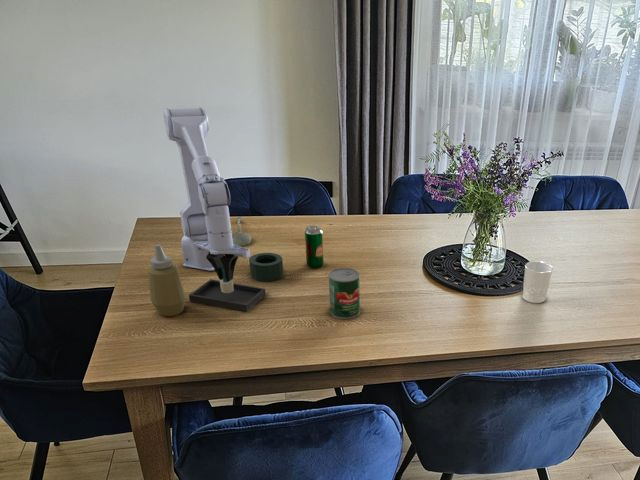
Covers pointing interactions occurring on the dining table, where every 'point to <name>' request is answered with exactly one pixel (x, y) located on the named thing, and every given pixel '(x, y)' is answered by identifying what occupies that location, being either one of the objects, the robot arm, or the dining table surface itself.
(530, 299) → the white cup
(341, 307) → the canned tomato
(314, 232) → the soda can
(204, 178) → the robot arm
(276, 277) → the jar
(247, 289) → the tray
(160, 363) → the dining table surface
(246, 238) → the soupspoon
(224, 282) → the teal peg on base
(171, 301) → the squeeze bottle
